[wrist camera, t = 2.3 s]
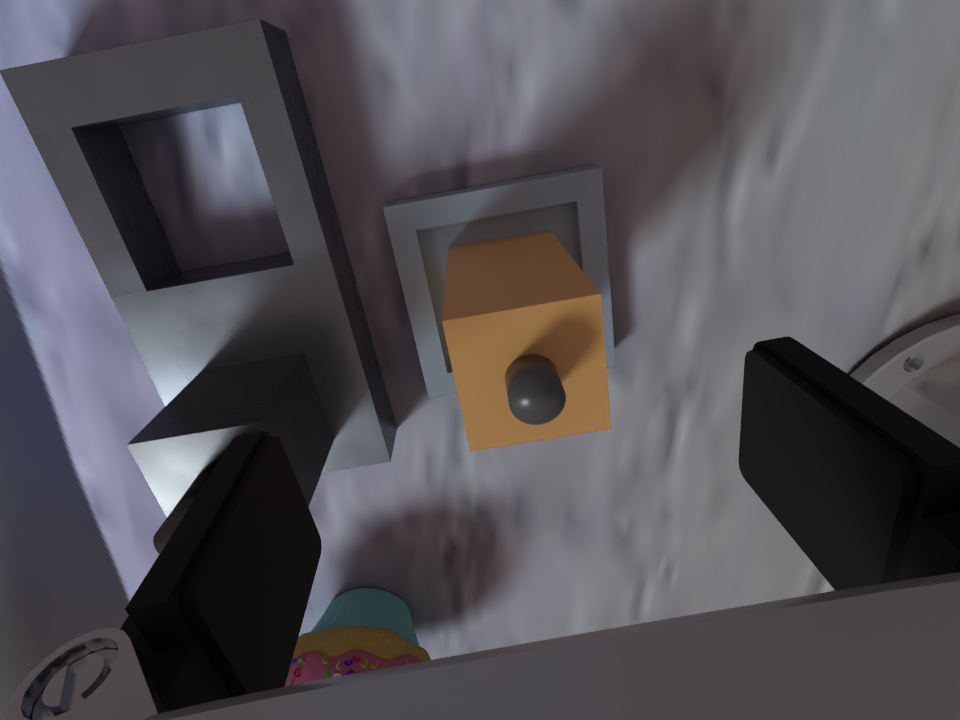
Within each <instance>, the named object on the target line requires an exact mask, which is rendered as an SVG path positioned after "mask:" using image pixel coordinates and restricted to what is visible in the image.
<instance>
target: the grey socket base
mask: <svg viewBox="0 0 960 720" xmlns="http://www.w3.org/2000/svg"><path fill="white" fill-rule="evenodd" d="M0 73H1V75H2V77H3V79H4V81H5V83H6V85H7V87H8V89H9V91H10V93H11V96H12V98H13V100H14V102H15V104H16V106H17V108H18V110H19V112H20V114H21V116H22V118H23V120H24V122H25V124H26V126H27V128H28V130H29V132H30V134H31V136H32V138H33V140H34V142H35V144H36V146H37V148H38V150H39V152H40V154H41V156H42V158H43V160H44V162H45V164H46V166H47V168H48V170H49V172H50V174H51V176H52V178H53V180H54V182H55V184H56V186H57V188H58V190H59V192H60V195H61V197H62V199H63V201H64V203H65V205H66V207H67V209H68V211H69V213H70V215H71V217H72V219H73V221H74V223H75V225H76V227H77V229H78V231H79V233H80V235H81V237H82V239H83V241H84V243H85V245H86V247H87V249H88V251H89V253H90V255H91V257H92V259H93V261H94V263H95V265H96V267H97V269H98V271H99V273H100V275H101V277H102V279H103V281H104V283H105V285H106V287H107V289H108V291H109V294H110V296H111V298H112V300H113V302H114V304H115V306H116V308H117V310H118V312H119V314H120V316H121V318H122V320H123V322H124V324H125V326H126V328H127V330H128V332H129V334H130V336H131V338H132V340H133V342H134V344H135V346H136V348H137V350H138V352H139V354H140V356H141V358H142V360H143V362H144V364H145V366H146V368H147V370H148V372H149V374H150V376H151V378H152V380H153V382H154V384H155V386H156V388H157V390H158V392H159V395H160V397H161V399H162V401H163V403H164V405H165V407H164V408H163V409H162V410H161V411H160V412H159V413H158V414H157V415H156V416H155V417H154V418H153V419H152V420H151V421H150V422H149V423H148V424H147V425H146V426H145V427H144V428H143V429H142V430H141V431H140V432H139V433H138V434H137V435H136V436H135V437H134V438H133V439H132V440H131V441H130V442H129V443H128V444H127V446H128V448H129V450H130V451H131V453H132V455H133V457H134V459H135V460H136V462H137V464H138V466H139V468H140V469H141V471H142V473H143V475H144V477H145V479H146V480H147V482H148V484H149V486H150V488H151V489H152V491H153V493H154V495H155V497H156V498H157V500H158V502H159V504H160V506H161V508H162V509H163V511H164V513H165V515H166V517H167V519H166V520H165V521H164V523H163V524H162V526H161V527H160V528H159V530H158V531H157V532H156V534H155V536H154V540H153V542H154V546H155V548H156V550H157V552H158V553H159V554H160V553H161V552H162V550H163V548H164V547H165V545H166V544H167V542H168V541H169V539H170V537H171V536H172V534H173V533H174V531H175V529H176V528H177V526H178V525H179V523H180V522H181V520H182V518H183V517H184V515H185V514H186V512H187V511H188V509H189V507H190V506H191V504H192V503H193V501H194V499H195V498H196V496H197V495H198V493H199V492H200V490H201V488H202V487H203V485H204V484H205V482H206V480H207V479H208V477H209V476H210V474H211V473H212V471H213V469H214V468H215V466H216V465H217V463H218V462H219V460H220V458H221V457H222V455H223V454H224V452H225V450H226V449H227V447H228V446H229V444H230V443H231V441H232V439H233V438H234V437H235V436H239V435H244V434H250V433H255V432H261V431H266V432H268V433H269V434H270V435H271V437H274V436H277V437H278V438H279V439H280V440H281V442H282V444H283V447H284V449H285V452H286V454H287V456H288V459H289V461H290V464H291V466H292V469H293V471H294V474H295V476H296V478H297V481H298V483H299V486H300V488H301V491H302V493H303V496H304V498H305V501H306V503H307V505H308V507H309V504H310V502H311V499H312V496H313V494H314V491H315V489H316V486H317V483H318V481H319V478H320V475H321V473H323V472H329V471H335V470H341V469H348V468H354V467H360V466H366V465H372V464H378V463H384V462H390V461H391V457H392V452H393V447H394V442H395V436H396V431H397V428H396V424H395V421H394V417H393V414H392V410H391V406H390V403H389V399H388V396H387V392H386V389H385V385H384V382H383V378H382V374H381V371H380V367H379V364H378V360H377V357H376V353H375V350H374V346H373V342H372V339H371V335H370V332H369V328H368V325H367V321H366V318H365V314H364V310H363V307H362V303H361V300H360V296H359V293H358V289H357V286H356V282H355V278H354V275H353V271H352V268H351V264H350V261H349V257H348V254H347V250H346V246H345V243H344V239H343V236H342V232H341V229H340V225H339V222H338V218H337V214H336V211H335V207H334V204H333V200H332V197H331V193H330V190H329V186H328V183H327V179H326V175H325V172H324V168H323V165H322V161H321V158H320V154H319V151H318V147H317V143H316V140H315V136H314V133H313V129H312V126H311V122H310V119H309V115H308V111H307V108H306V104H305V101H304V97H303V94H302V90H301V87H300V83H299V79H298V76H297V72H296V69H295V65H294V62H293V58H292V55H291V51H290V47H289V44H288V40H287V37H286V33H285V31H283V30H281V29H279V28H277V27H275V26H273V25H271V24H269V23H267V22H265V21H262V20H260V19H256V20H251V21H246V22H241V23H236V24H231V25H226V26H221V27H216V28H211V29H206V30H201V31H196V32H191V33H186V34H181V35H176V36H171V37H166V38H161V39H156V40H151V41H145V42H140V43H135V44H130V45H125V46H120V47H115V48H110V49H105V50H100V51H95V52H90V53H85V54H80V55H75V56H70V57H65V58H60V59H55V60H50V61H45V62H39V63H34V64H29V65H24V66H19V67H14V68H9V69H4V70H0ZM235 103H241V104H242V107H243V110H244V113H245V116H246V119H247V123H248V126H249V129H250V132H251V135H252V138H253V141H254V144H255V147H256V150H257V153H258V156H259V159H260V162H261V165H262V168H263V171H264V174H265V177H266V180H267V183H268V186H269V189H270V193H271V196H272V199H273V202H274V205H275V208H276V211H277V214H278V217H279V220H280V223H281V226H282V229H283V232H284V235H285V238H286V241H287V244H288V247H289V250H290V253H285V254H279V255H274V256H268V257H263V258H257V259H252V260H246V261H240V262H235V263H229V264H224V265H218V266H213V267H207V268H202V269H196V270H190V271H185V272H180V270H179V268H178V265H177V263H176V261H175V258H174V256H173V254H172V251H171V249H170V247H169V244H168V242H167V239H166V237H165V235H164V232H163V230H162V228H161V225H160V223H159V221H158V218H157V216H156V214H155V211H154V209H153V207H152V204H151V202H150V200H149V197H148V195H147V193H146V190H145V188H144V186H143V183H142V181H141V178H140V176H139V174H138V171H137V169H136V167H135V164H134V162H133V160H132V157H131V155H130V153H129V150H128V148H127V146H126V143H125V141H124V139H123V136H122V134H121V132H120V129H119V127H118V126H121V125H126V124H131V123H136V122H142V121H147V120H152V119H157V118H163V117H168V116H173V115H178V114H183V113H189V112H194V111H199V110H204V109H209V108H215V107H220V106H225V105H230V104H235Z"/></svg>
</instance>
